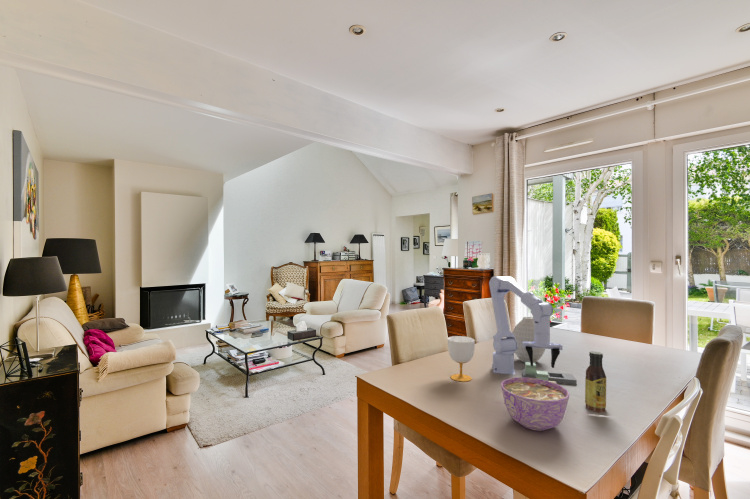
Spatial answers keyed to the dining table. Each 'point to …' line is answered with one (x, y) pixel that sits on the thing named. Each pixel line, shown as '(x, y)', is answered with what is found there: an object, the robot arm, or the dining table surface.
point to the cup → (461, 354)
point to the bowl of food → (535, 402)
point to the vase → (526, 340)
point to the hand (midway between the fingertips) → (542, 366)
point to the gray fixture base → (553, 376)
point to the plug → (542, 375)
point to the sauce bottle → (595, 384)
